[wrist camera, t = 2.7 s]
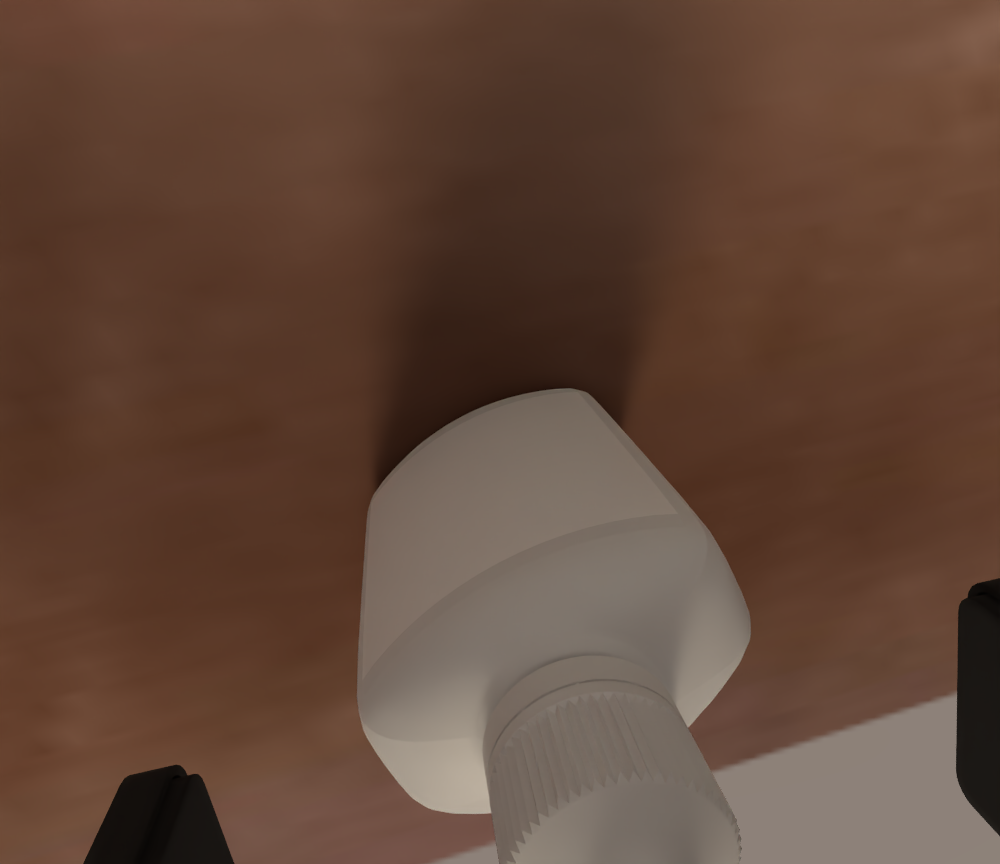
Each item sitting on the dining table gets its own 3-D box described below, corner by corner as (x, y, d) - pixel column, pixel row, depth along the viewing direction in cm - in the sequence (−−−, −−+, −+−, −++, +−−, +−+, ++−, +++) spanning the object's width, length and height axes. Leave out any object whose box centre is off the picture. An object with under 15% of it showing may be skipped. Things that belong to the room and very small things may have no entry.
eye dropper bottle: (365, 383, 17) (307, 835, 5) (622, 382, 17) (1050, 776, 6) (369, 568, 18) (332, 1239, 7) (607, 560, 19) (937, 1152, 7)
